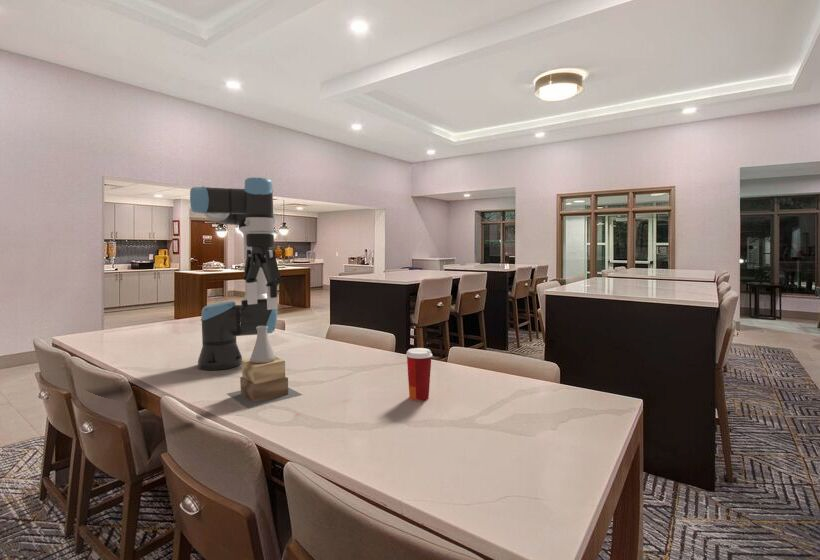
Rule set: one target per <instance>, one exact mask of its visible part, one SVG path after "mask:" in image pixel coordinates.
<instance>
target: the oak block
mask: <svg viewBox="0 0 820 560" xmlns="http://www.w3.org/2000/svg"><path fill="white" fill-rule="evenodd" d="M249 361H250V358H248V359H242V364H241V369H242V370H241V371H242V372H241V375H242V376H241V377H243V378H245V379H247V380H248V381H250V382H252V383H254V384H259V383H264V382H268V381H273V380H277V379H282V378H285V377H286V360H284V359H282V358H279V357H276V359H275V360H274V361H270V362H267V363H254V362H249Z"/></svg>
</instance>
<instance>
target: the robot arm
mask: <svg viewBox="0 0 820 560" xmlns="http://www.w3.org/2000/svg"><path fill="white" fill-rule="evenodd" d="M273 194H274V190H273V182H272V180H271V179H269V178H266V177H248V178H246V179H245V180H244V187H243V188H229V187H228V188H224V187H207V186H206V187H205V186H193V187H191V188H190V190H189V200H190V201H189V203H190V209H191V211H192V213H195V214H198V213H199V214H204V216H205V217H206V218H208V219H209V220H211V221H213V222H216V223H220V224H224V225H229V226H231V225H232V226H238V230H239V231H240V232H241V233H242V234H243V260H244V266H243V267H244V271H243V277H242V278H243V280H244V284H245V285H244V290H245V291H244V293H245V295H244V297H243V298H242V299H241V300H240V301H241V304H236V302H235V301H232V300H231V301H229V300H228V301H222V302H217V303H212V304H208V305H205V306H204V307H203V308H202V309H201V319H200V321H201V337H202V338H201V339H202V340H201V341H202V342H201V343H202V347H201V350H200V353H199V357H198V360H197V368H198V369H200V370H203V371H219V370H220V371H223V370H228V369H232V368H235V367H239V366H242V360H243V357H242V356H243V355H242V354H241V351H240V349H239V345H238V343H237V337H243V336H244V337H245V336H257V329H256V327H258V326H268V328H267V335H270V334H272V333H274V332H275V330H276V326H277V319H278V309H279V308H278V286H279V285H280V284H282V278H281V275H280V271H279V267H278V263H277V258H276V251H275V249H273V250H272V249H271V250H270V248H272V247H274V246H275V235H274V234H273V233H274V231H275V230H274V229H275V226H274V225H275V217H274V215H275V213H274V204H273V203H274V199H273V197H274V195H273Z"/></svg>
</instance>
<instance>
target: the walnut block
mask: <svg viewBox="0 0 820 560" xmlns="http://www.w3.org/2000/svg"><path fill="white" fill-rule="evenodd" d="M288 387H289V377H287V376H285V378H282V379H277V380H273V381H268V382H264V383H259V384H254V383H252V382H250V381H248V380H247V379H245V378H243V377H242V376H240V391H241V394H242V395H243V396H245V397H246V398H248V399H250V400H251V401H253V402H254V403H256V402H260V401H264V400H268V399H272V398H276V397H280V396H284V395H288Z"/></svg>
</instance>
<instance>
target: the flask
mask: <svg viewBox="0 0 820 560" xmlns="http://www.w3.org/2000/svg"><path fill="white" fill-rule="evenodd" d="M267 328H268V326H258V327H256V329H257V335H256V340H255V344H254V346H253V350H252V353H251V355H250V358H249V359H250V361H249V362H254V363H267V362H270V361H274V360H275V359H276V354H275V352H274V349H273V347H272V345H271V342H270V340H269V336H268V335H269V334H267Z"/></svg>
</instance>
